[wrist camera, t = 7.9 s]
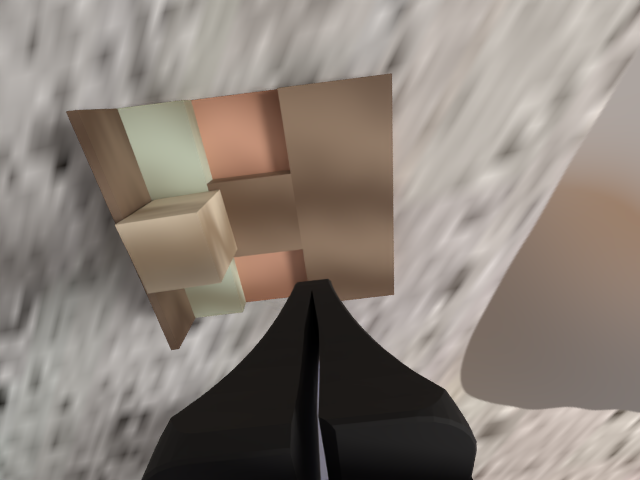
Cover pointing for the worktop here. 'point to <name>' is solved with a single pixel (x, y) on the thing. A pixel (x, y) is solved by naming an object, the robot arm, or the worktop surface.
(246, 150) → the box
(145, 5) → the worktop surface
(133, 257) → the birch block
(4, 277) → the worktop surface
